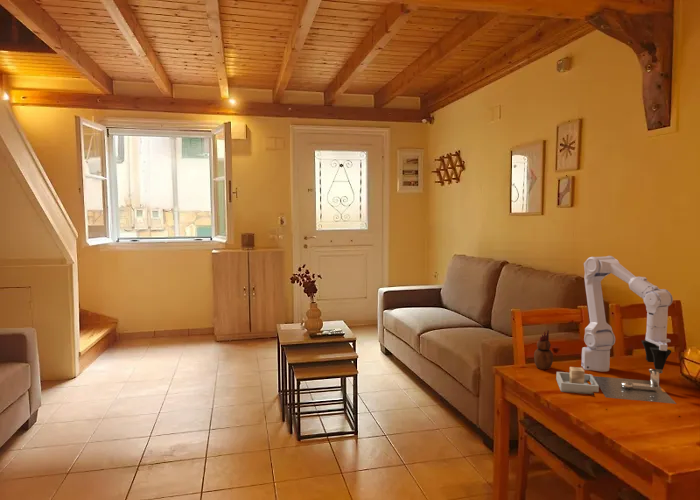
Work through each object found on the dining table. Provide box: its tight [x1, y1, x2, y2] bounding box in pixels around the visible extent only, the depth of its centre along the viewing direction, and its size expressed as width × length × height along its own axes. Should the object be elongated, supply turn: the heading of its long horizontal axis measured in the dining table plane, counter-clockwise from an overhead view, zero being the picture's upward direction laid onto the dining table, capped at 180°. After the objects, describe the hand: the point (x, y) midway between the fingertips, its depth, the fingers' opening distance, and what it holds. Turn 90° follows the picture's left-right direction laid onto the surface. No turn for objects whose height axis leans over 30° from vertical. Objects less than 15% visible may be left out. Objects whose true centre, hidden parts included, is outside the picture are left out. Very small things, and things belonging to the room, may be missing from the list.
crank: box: [621, 368, 663, 390], centre depth 160 cm, size 12×4×7 cm, turn 71°
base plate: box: [592, 375, 677, 405], centre depth 160 cm, size 20×20×1 cm
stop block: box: [569, 366, 586, 384], centre depth 164 cm, size 4×4×6 cm
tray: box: [555, 371, 600, 395], centre depth 165 cm, size 12×12×3 cm
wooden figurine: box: [533, 330, 554, 370], centre depth 184 cm, size 7×6×15 cm
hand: (654, 365), depth 158 cm, fingers open, 7 cm apart
